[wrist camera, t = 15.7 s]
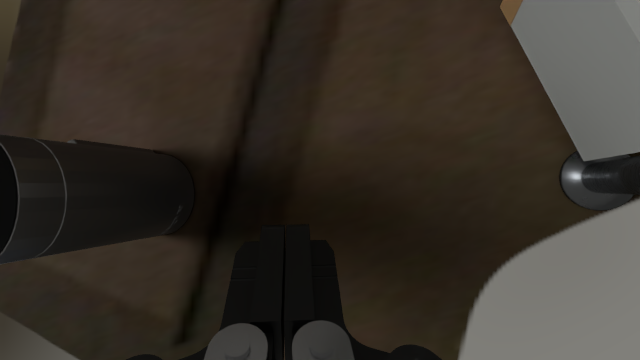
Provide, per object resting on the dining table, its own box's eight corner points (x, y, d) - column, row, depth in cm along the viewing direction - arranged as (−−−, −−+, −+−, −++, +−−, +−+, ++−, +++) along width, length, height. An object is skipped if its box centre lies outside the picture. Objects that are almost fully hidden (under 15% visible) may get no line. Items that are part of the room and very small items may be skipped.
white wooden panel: (601, 154, 26) (733, 129, 15) (582, 161, 27) (697, 142, 15) (516, -2, 28) (574, -131, 17) (500, 7, 29) (545, -114, 17)
